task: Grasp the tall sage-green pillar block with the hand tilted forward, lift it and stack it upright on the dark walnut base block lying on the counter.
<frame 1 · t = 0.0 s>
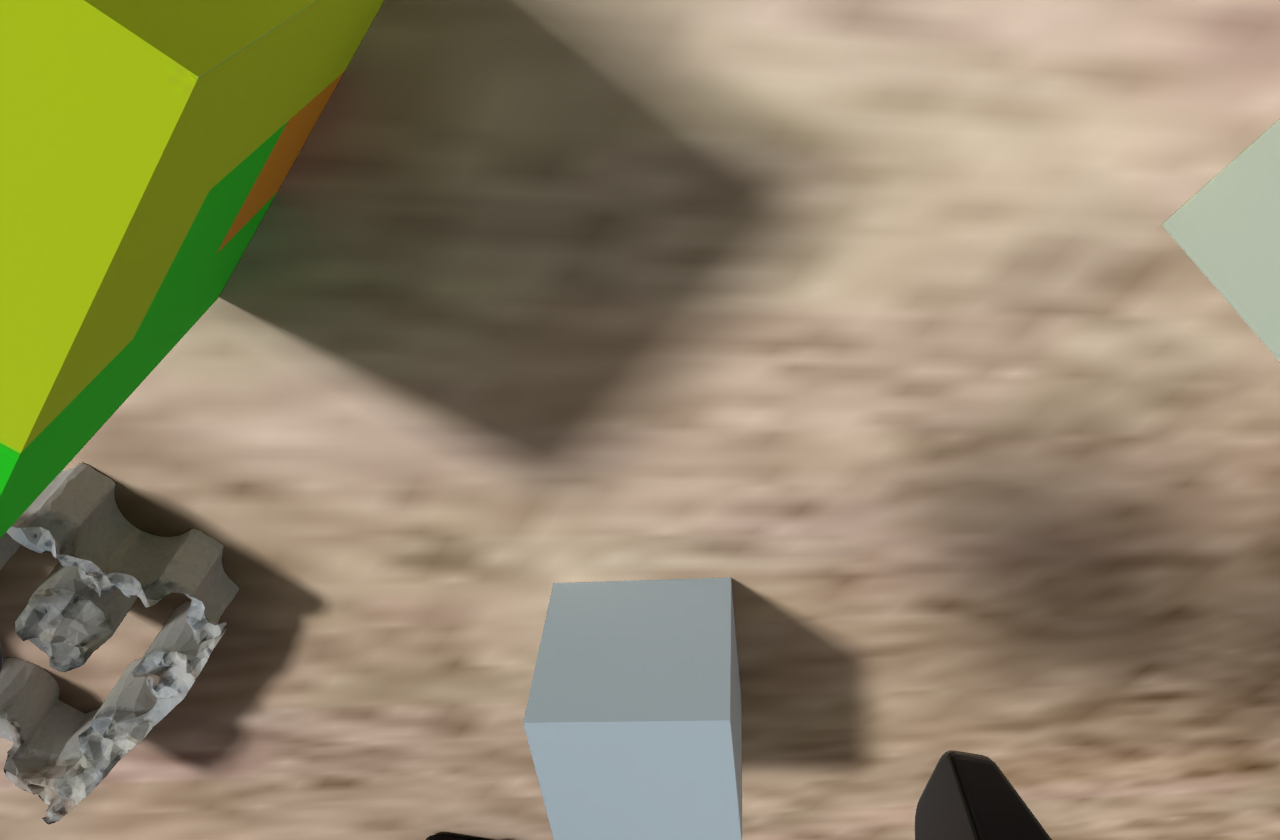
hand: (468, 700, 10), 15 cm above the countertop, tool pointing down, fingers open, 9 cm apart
egg carton: (86, 587, 31), on the countertop
slate painted cube: (650, 641, 30), on the countertop
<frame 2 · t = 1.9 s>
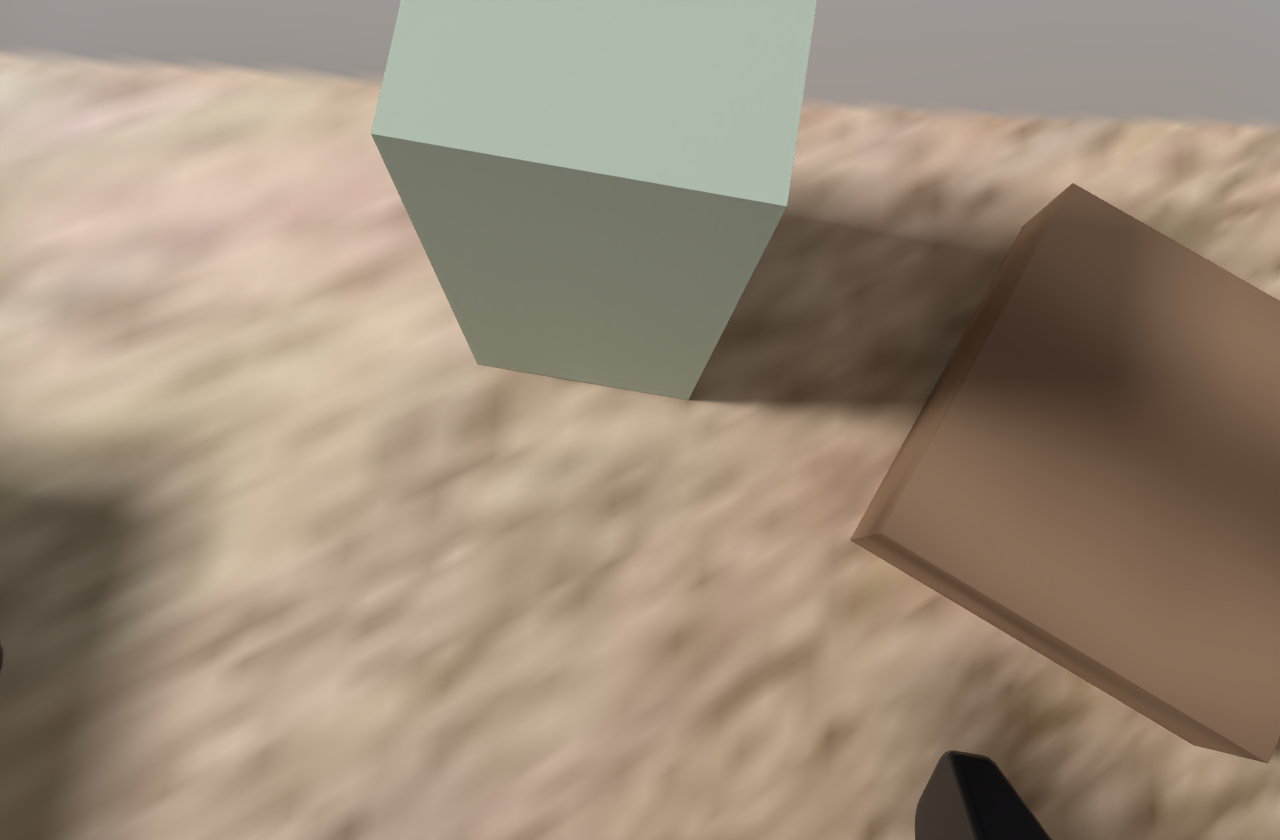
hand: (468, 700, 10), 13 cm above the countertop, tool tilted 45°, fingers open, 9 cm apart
walnut base block: (1097, 476, 25), on the countertop
sage pillar block: (600, 281, 24), on the countertop
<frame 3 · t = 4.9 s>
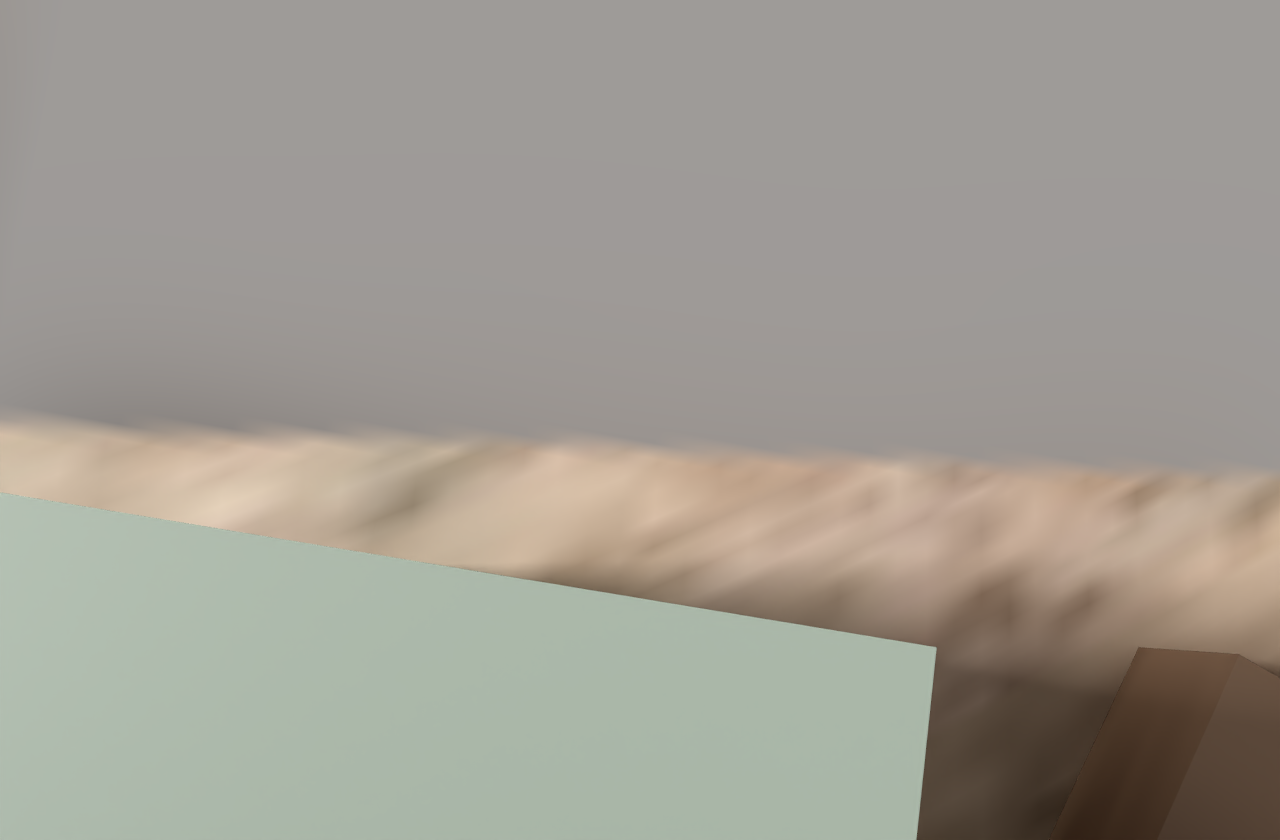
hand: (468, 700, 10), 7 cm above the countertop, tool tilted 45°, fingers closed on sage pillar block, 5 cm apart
sage pillar block: (498, 753, 16), on the countertop, touching gripper
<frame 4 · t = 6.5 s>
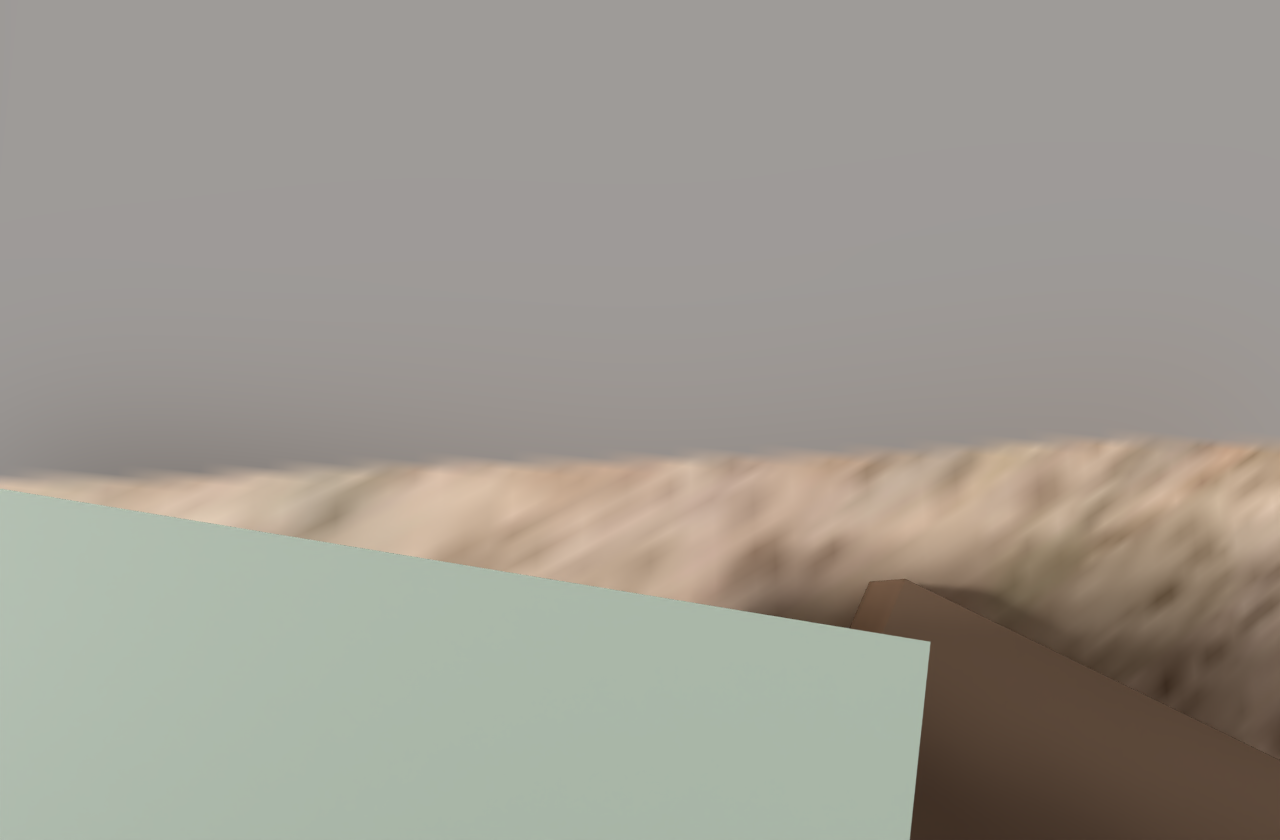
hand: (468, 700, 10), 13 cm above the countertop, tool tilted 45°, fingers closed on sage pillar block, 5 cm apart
sage pillar block: (497, 751, 16), point 6 cm above the countertop, touching gripper
when the fingers open (10 cm above the countertop, at t = 8.1 s): sage pillar block drops 1 cm, resting on walnut base block.
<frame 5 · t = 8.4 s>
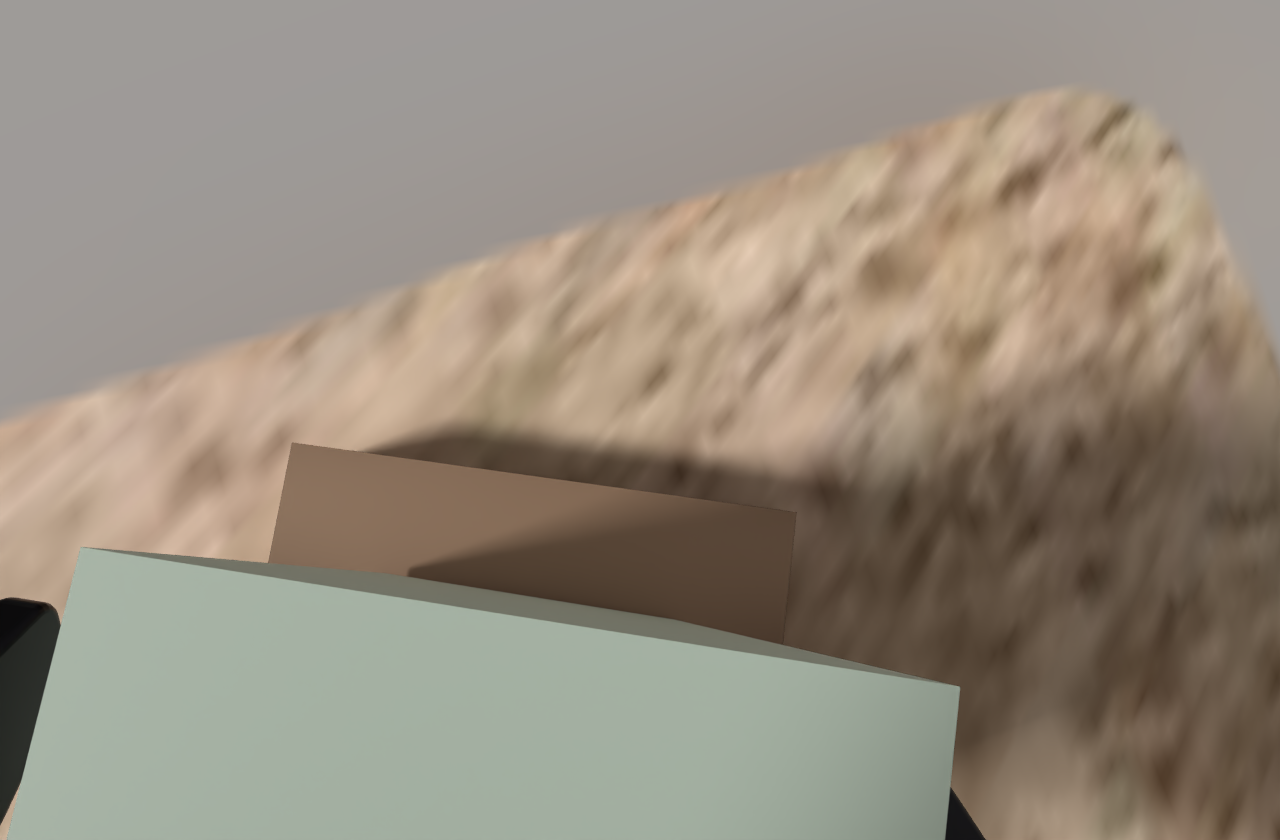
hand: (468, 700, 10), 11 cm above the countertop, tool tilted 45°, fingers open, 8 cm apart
walnut base block: (518, 720, 20), on the countertop, touching sage pillar block
sage pillar block: (505, 746, 17), point 3 cm above the countertop, touching walnut base block
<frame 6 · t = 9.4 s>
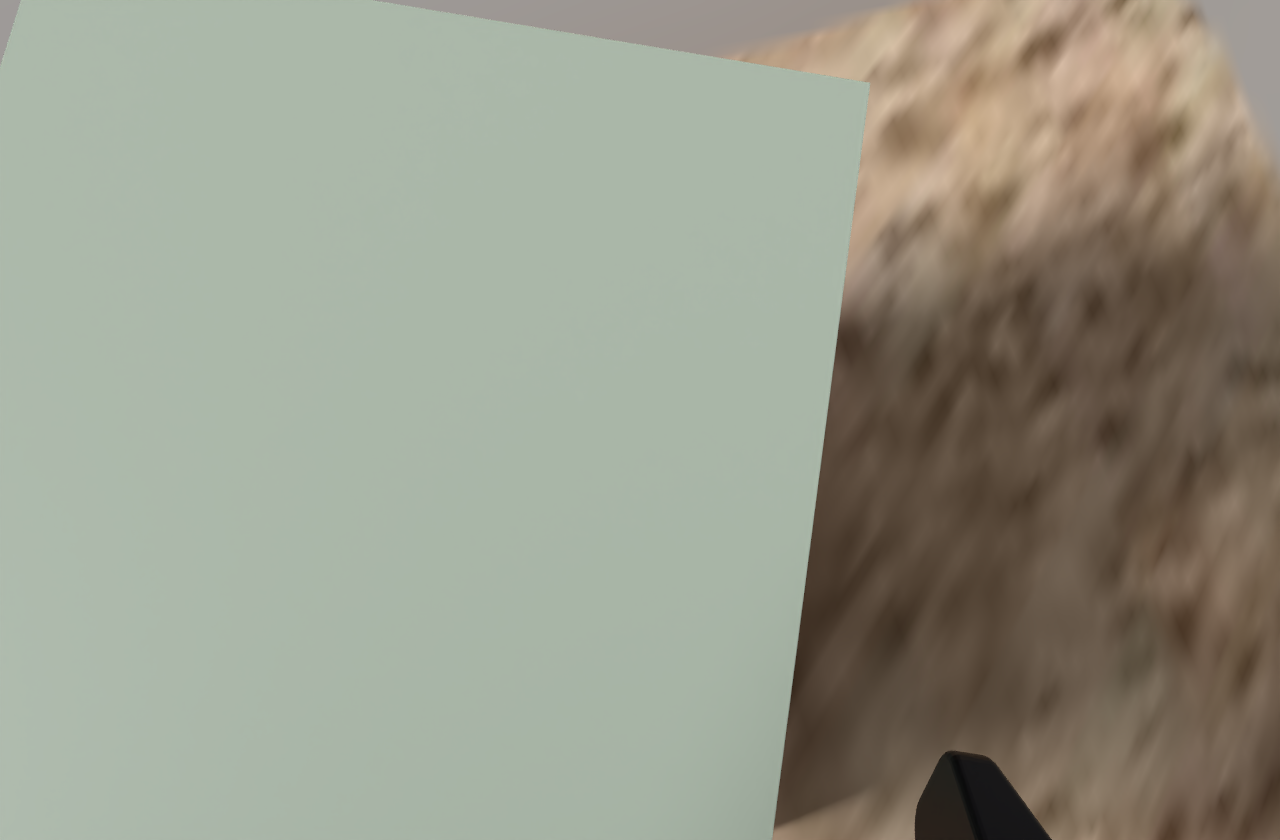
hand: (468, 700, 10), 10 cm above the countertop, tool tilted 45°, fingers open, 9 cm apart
sage pillar block: (529, 556, 17), point 3 cm above the countertop, touching walnut base block
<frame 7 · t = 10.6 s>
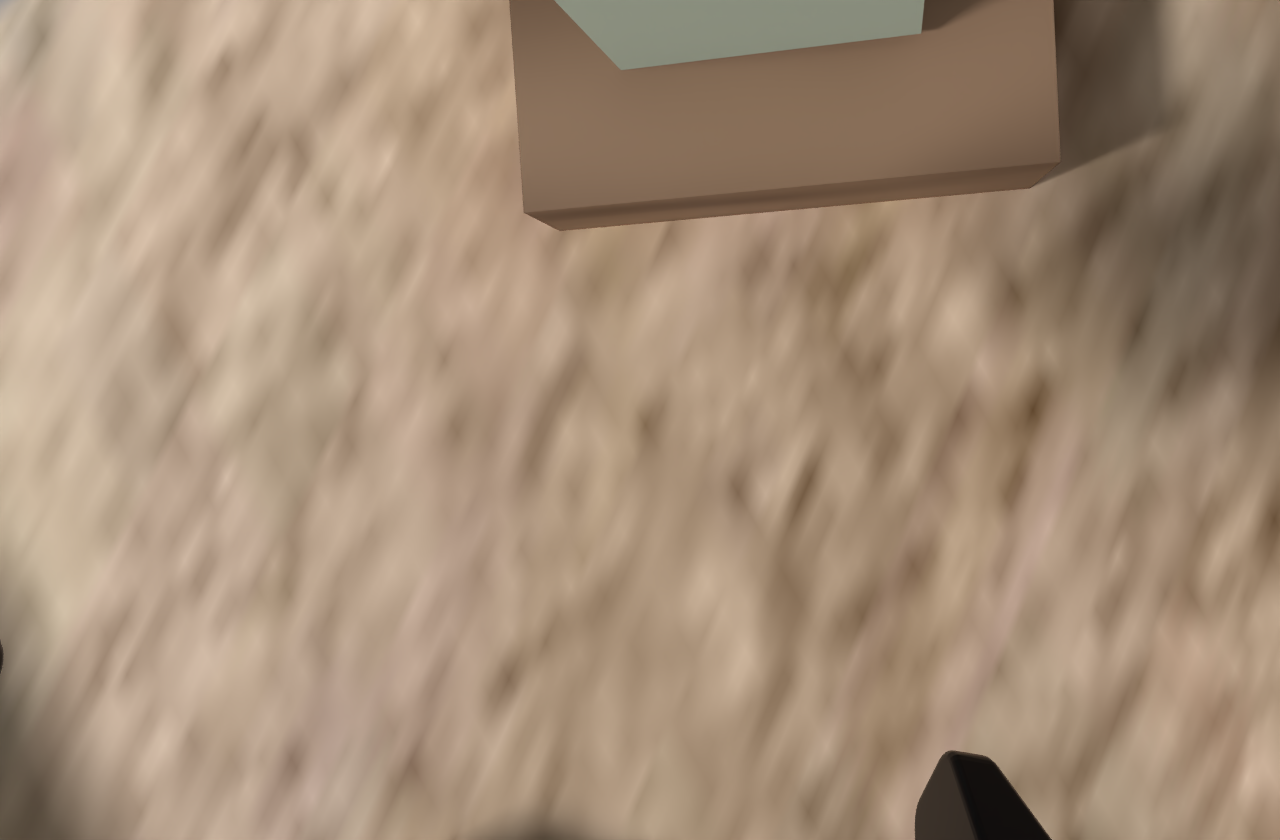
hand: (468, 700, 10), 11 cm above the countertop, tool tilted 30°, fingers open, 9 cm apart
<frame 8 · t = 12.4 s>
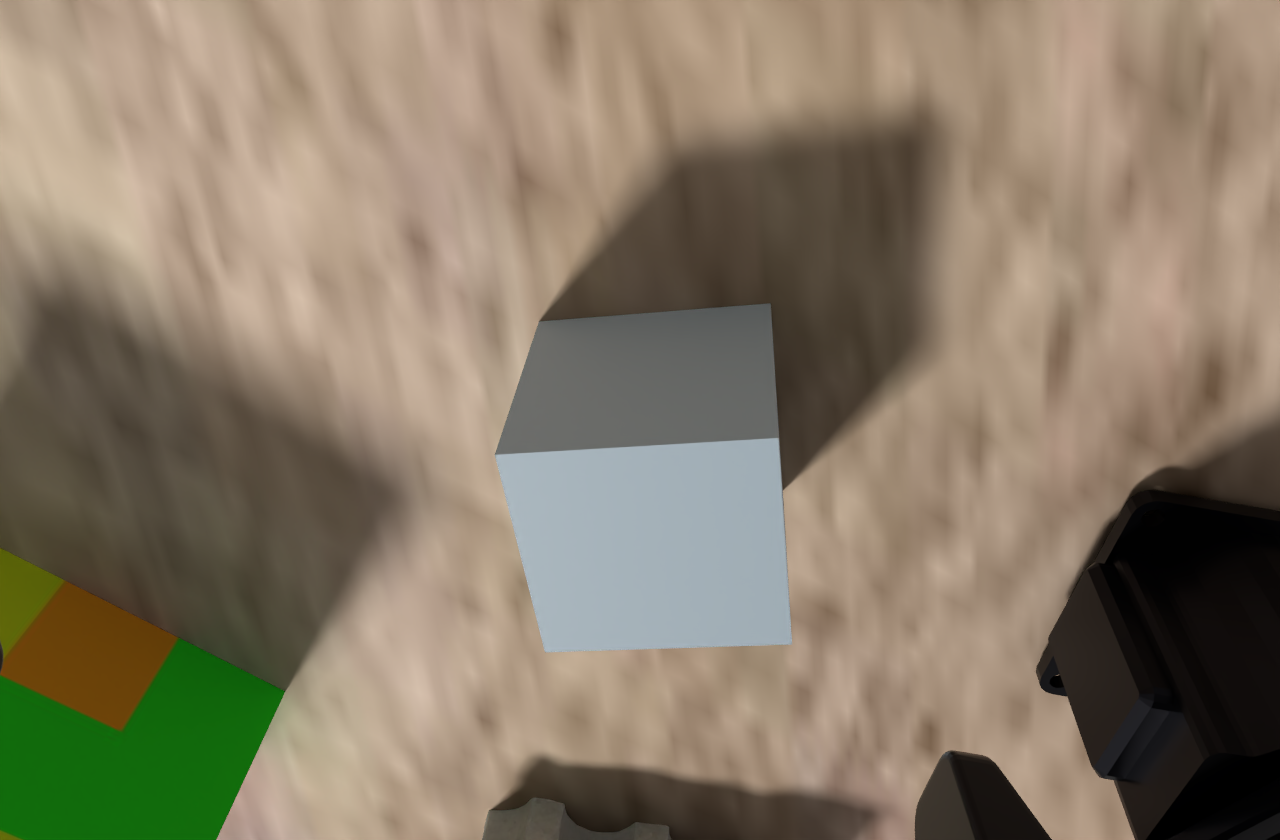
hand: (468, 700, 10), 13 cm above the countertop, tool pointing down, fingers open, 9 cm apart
puzzle toy: (69, 694, 31), on the countertop
slate painted cube: (666, 407, 23), on the countertop
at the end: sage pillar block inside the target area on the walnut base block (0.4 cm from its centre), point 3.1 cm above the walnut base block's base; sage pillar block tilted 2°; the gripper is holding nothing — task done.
